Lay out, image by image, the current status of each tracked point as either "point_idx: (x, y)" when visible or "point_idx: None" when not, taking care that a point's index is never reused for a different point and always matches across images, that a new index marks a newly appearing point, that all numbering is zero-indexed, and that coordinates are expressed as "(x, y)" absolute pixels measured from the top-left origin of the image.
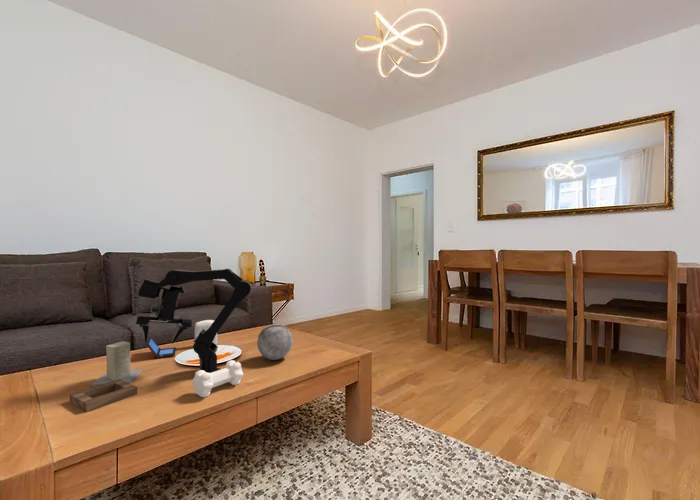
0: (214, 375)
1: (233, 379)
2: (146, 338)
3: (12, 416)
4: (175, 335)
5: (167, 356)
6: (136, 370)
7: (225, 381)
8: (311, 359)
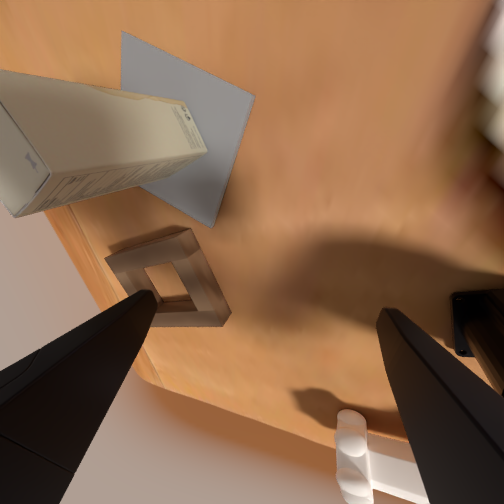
0: (391, 493)
1: None
2: (134, 353)
3: (67, 245)
4: (419, 461)
5: None
6: (228, 96)
7: None
8: None
